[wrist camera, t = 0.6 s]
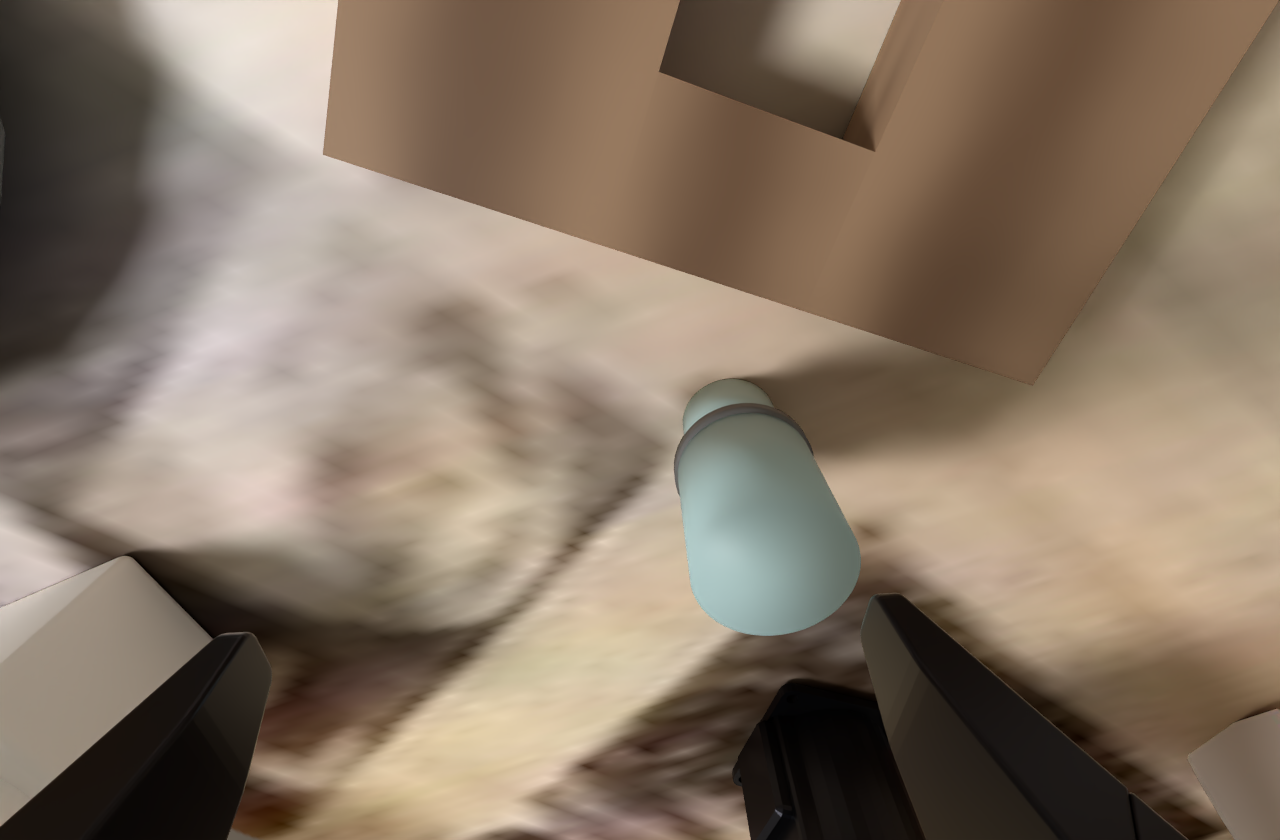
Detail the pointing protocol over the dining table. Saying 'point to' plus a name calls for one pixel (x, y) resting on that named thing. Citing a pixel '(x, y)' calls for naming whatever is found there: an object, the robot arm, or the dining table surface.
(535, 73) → the socket board
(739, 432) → the stepped peg
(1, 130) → the pie
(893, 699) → the robot arm
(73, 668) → the medicine bottle
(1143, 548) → the dining table surface
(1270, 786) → the mallet
